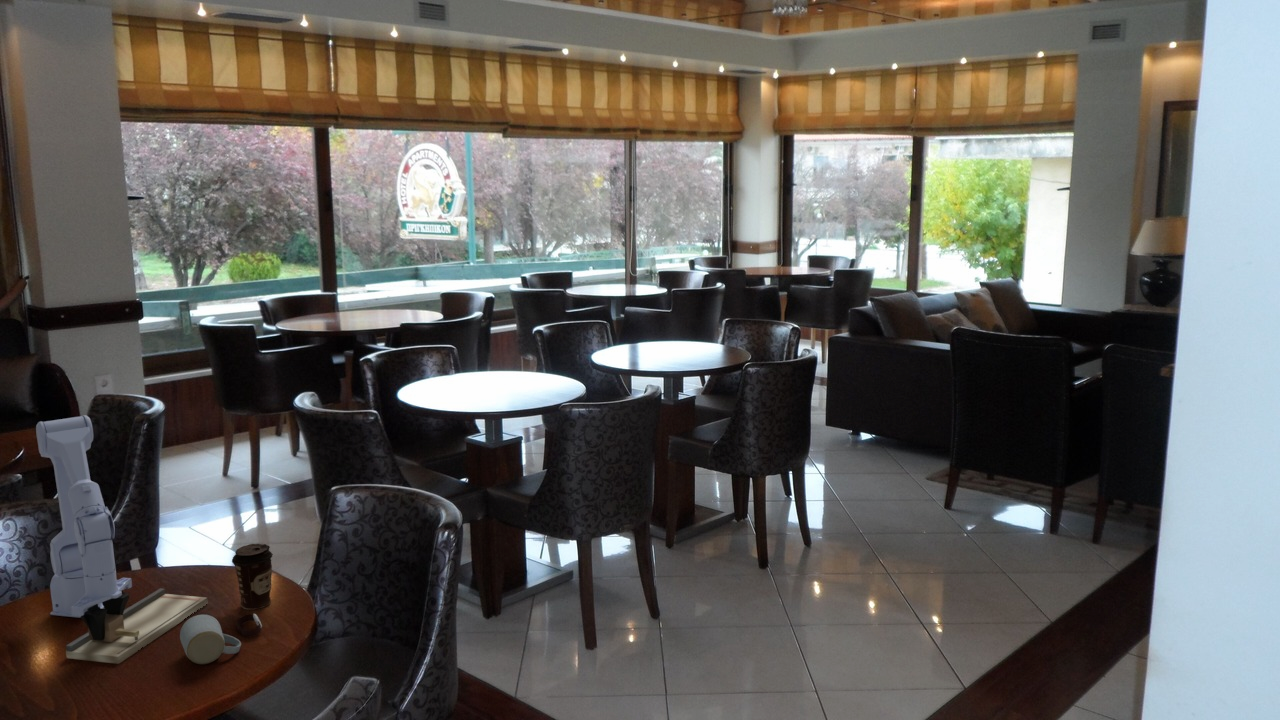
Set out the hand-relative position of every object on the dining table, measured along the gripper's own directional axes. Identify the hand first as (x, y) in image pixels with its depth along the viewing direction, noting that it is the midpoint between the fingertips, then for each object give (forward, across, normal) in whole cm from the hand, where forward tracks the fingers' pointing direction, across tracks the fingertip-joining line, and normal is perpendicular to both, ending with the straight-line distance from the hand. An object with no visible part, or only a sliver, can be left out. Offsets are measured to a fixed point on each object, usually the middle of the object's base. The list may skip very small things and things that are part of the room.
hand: (107, 634), depth 205 cm
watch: (+3, +12, -25) cm, 27 cm away
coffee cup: (+3, +24, -19) cm, 30 cm away
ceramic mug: (+3, 0, -24) cm, 24 cm away
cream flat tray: (+2, +8, -2) cm, 8 cm away
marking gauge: (+1, 0, -2) cm, 2 cm away
